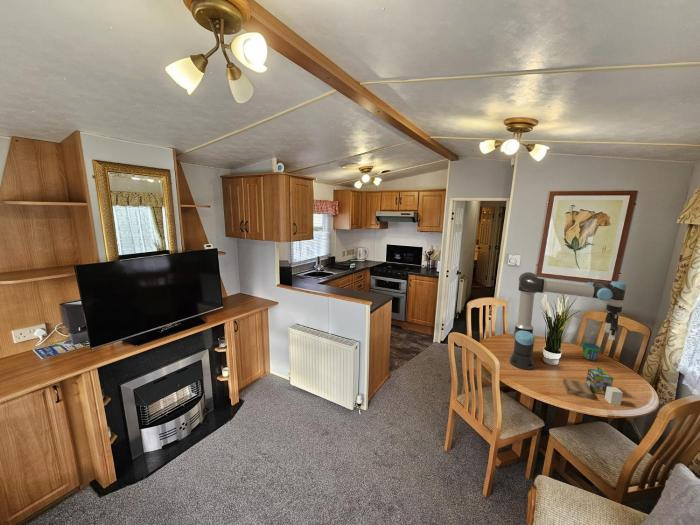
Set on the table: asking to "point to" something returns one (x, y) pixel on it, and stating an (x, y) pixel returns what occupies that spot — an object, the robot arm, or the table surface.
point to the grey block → (613, 395)
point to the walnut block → (577, 389)
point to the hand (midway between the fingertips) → (608, 335)
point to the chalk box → (598, 380)
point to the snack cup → (590, 351)
